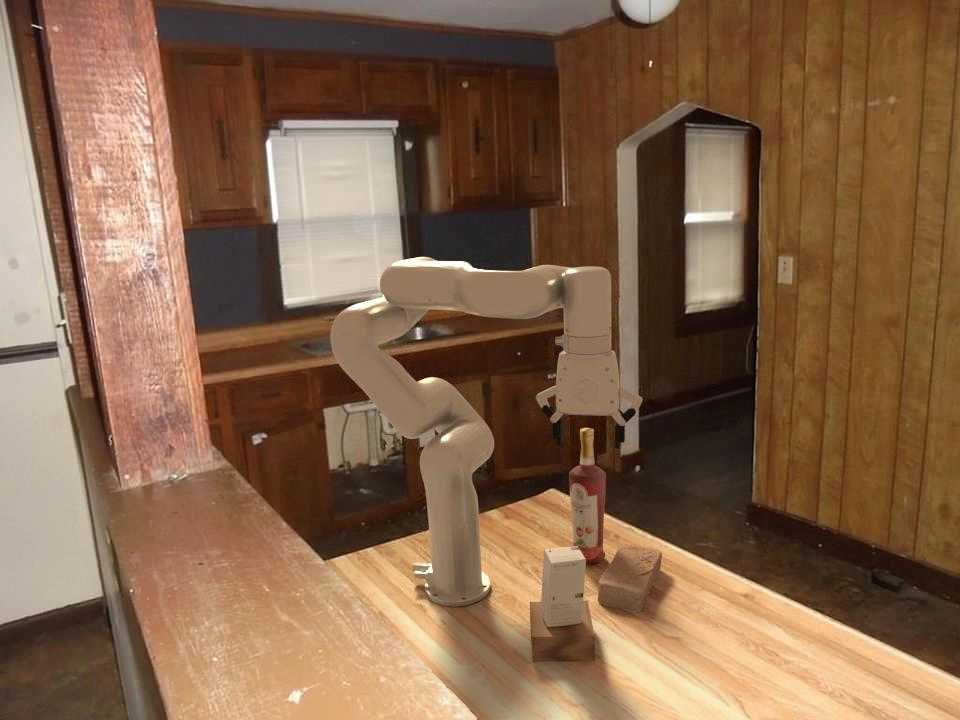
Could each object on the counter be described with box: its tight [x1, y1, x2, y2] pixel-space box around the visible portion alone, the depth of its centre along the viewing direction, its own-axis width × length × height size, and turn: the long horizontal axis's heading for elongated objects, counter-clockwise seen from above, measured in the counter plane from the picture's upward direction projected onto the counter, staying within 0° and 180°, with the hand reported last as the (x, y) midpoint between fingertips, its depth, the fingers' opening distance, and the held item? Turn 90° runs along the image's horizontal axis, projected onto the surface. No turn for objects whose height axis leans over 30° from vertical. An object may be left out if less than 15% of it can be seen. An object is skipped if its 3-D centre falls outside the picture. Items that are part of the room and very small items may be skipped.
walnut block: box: [529, 600, 596, 663], centre depth 116 cm, size 10×10×5 cm
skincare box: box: [540, 546, 587, 627], centre depth 114 cm, size 6×4×12 cm
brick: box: [597, 543, 663, 613], centre depth 133 cm, size 16×8×5 cm, turn 153°
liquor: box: [568, 427, 607, 566], centre depth 140 cm, size 7×7×28 cm
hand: (588, 444), depth 116 cm, fingers open, 9 cm apart
